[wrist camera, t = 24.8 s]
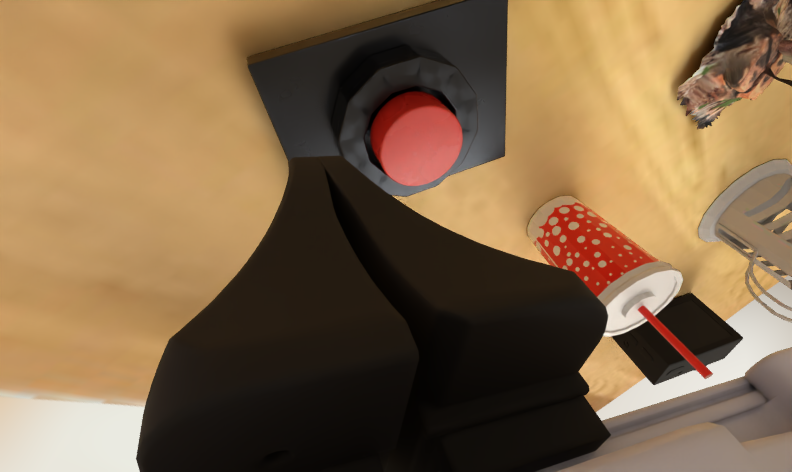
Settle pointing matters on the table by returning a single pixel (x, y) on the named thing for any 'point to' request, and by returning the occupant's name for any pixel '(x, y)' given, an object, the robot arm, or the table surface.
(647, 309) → the beverage cup
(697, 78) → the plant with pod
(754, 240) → the french press
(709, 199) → the table surface
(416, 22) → the button box
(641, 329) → the digital camera
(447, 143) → the button
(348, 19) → the table surface
